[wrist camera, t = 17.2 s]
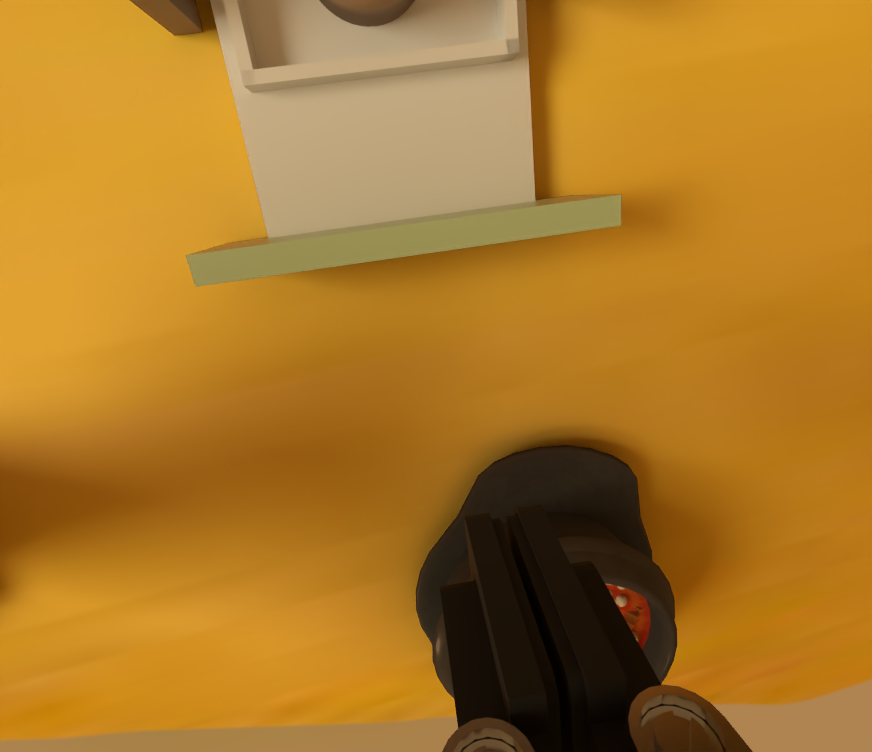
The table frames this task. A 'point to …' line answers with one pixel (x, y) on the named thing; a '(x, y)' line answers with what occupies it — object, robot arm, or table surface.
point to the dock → (173, 14)
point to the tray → (385, 136)
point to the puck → (367, 10)
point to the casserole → (563, 541)
